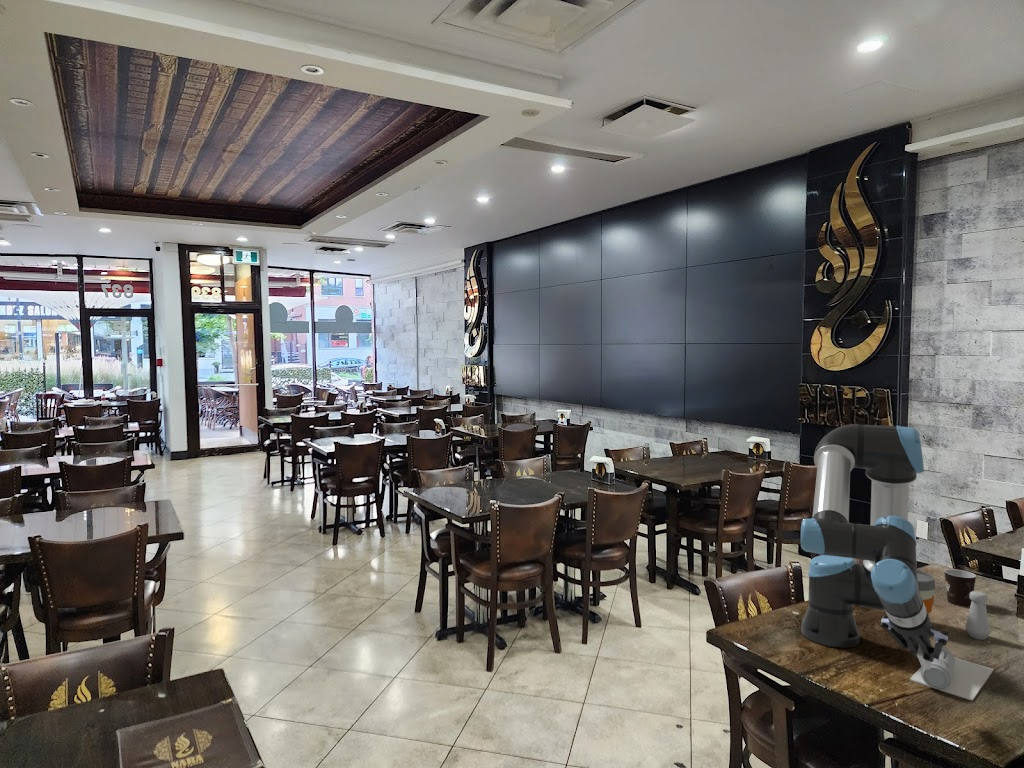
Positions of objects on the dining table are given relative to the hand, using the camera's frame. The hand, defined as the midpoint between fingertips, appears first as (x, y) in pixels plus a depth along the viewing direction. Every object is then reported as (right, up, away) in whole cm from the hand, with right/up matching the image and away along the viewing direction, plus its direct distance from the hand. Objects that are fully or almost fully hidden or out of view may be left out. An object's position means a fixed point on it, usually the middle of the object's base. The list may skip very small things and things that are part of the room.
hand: (927, 663), depth 146 cm
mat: (+17, -10, +15) cm, 25 cm away
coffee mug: (+52, -8, +63) cm, 82 cm away
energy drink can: (+7, -7, +7) cm, 12 cm away
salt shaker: (+40, -9, +38) cm, 56 cm away
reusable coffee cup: (+26, -9, +48) cm, 55 cm away
